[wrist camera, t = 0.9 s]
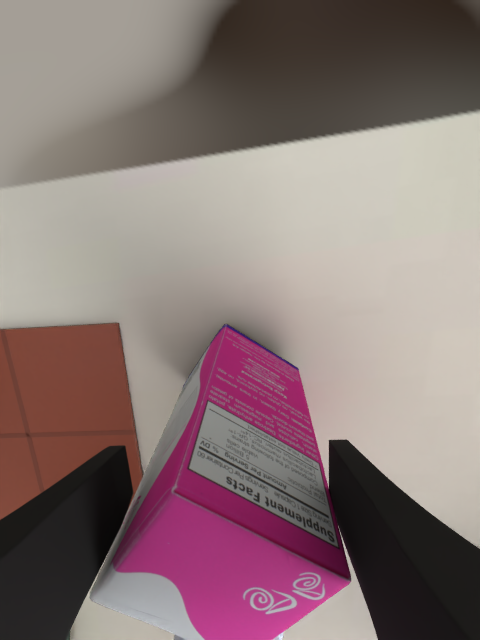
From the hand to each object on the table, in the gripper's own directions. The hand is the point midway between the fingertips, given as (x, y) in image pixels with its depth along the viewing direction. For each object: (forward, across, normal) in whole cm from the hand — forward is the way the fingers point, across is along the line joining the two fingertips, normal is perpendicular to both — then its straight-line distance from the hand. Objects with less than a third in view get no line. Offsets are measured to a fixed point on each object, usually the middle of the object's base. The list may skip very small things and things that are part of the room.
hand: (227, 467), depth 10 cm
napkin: (+9, +16, +4) cm, 19 cm away
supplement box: (+9, 0, 0) cm, 9 cm away
